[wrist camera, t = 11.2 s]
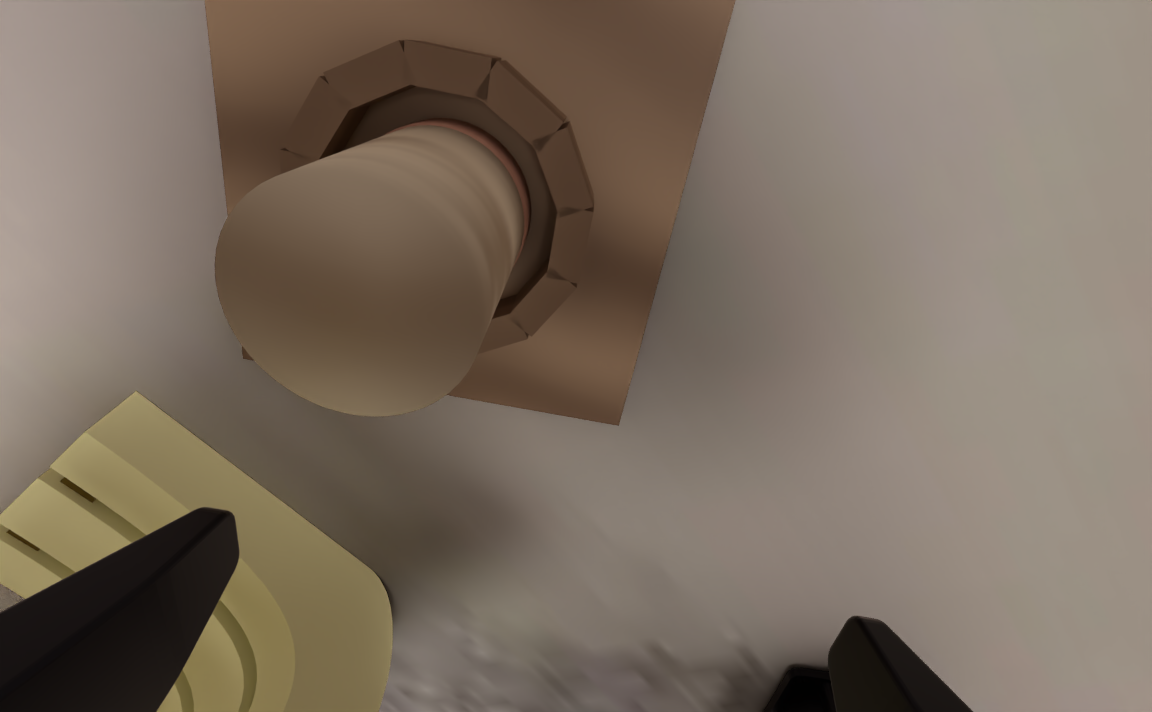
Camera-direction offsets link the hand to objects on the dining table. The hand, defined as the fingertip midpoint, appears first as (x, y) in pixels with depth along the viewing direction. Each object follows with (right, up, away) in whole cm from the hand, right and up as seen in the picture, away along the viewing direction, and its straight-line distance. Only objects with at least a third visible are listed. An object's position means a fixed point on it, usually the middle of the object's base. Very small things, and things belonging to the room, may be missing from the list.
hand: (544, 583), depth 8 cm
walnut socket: (-3, +8, +10) cm, 13 cm away
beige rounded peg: (-3, +8, +9) cm, 13 cm away
